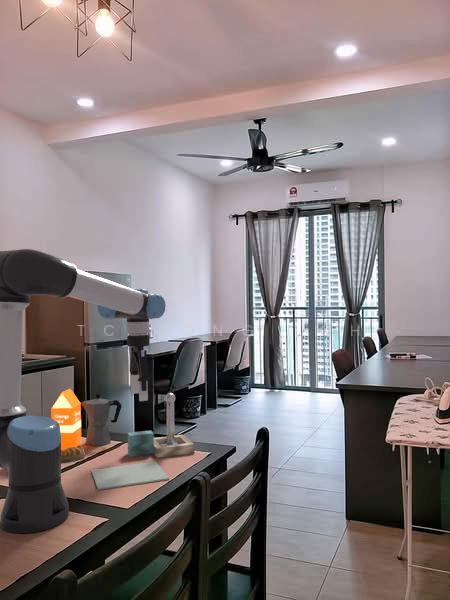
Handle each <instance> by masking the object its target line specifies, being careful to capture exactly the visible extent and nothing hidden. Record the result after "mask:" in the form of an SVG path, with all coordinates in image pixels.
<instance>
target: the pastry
mask: <svg viewBox="0 0 450 600" xmlns="http://www.w3.org/2000/svg"><path fill="white" fill-rule="evenodd" d="M85 456H86V453H85V450H84V447H83V446H82V445H80V444H79V445H78V446H77V447H69V448H67V449H65V450H61V463H63V462H72V461H76V460H82V459H84V458H85Z"/></svg>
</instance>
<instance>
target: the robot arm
mask: <svg viewBox="0 0 450 600" xmlns="http://www.w3.org/2000/svg"><path fill="white" fill-rule="evenodd" d="M31 296H46V297H47V296H48V297H53V298H57V299H65V298H67V297H69V298H73V299H76V300H79V301H83V302H86V303H90V304H93V305H97V306H96V307H97V312H98V314H99V316H100V317H101V318H103V319H106V320H107V319H109V320H114V319H126V334H128V335H127V336H126V346H127V347H129V348H130V364H129V372H130V381H131V382H130V384H131V385H130V388H131V389H130V391H131V393H130V394H132V395H133V394H138V401H139V402H145V401H148V400H149V394H148V393H149V392H148V391H149V388H148V387H149V386H148V385H149V384H148V381H149V380H150V375H149V374H150V373H149V366H148V356H147V354H148V353H147V349H145V348H144V347H148V346H150V345H151V344H150V343H151V342H150V339H151V338H150V334H149V333H150V327H151V323H150V320H155V319H160V318H162V316H163V315H164V314H165V312H166V307H167V306H166V301H165V298H164V297H163V296H162V295H161V294H158V293H157V294H156V293H149V290H148V289H146V288H131V287H128V286H125V285H123V284H120V283H117V282H115V281H111V280H110V279H106V278H103V277H100V276H98V275H96V274H92V273H89V272H87V271H84V270H81V269H79V268H77V266H76V265H75V264H74V263H73V262H70V261H67V260H65V259H63V258H60V257H57V256H54V255H52V254H49V253H46V252H42V251H40V250H35V249H30V248H23V249H13V250H11V249H10V250H0V469H3V470H7V471H8V472H7V473H8V474H7V475H8V480H7V481H8V491H7V494H6V497H5V499H4V502H3V506H2V509H1V512H0V527H1V529H2V530H4V531H5V532H7V533H8V532H9V533H14V534H31V533H32V534H33V533H37V532H42V531H45V530H49V529H52V528H54V527H57V526H58V525H60V524H62V523H64V522H65V521H66V520H67V519H68V518H69V515H70V506H69V502H68V501H69V500H68V498H67V496H66V493H65V490H64V487H63V484H62V462H61V451H62V450H61V439H62V438H61V432H60V425H59V423H58V422H57V421H56V420H54V419H52V418H51V417H48V416H45V415H40V416H37V415H27V409H26V407H25V406H23V405H22V403H21V393H22V392H21V391H22V390H21V388H22V386H21V385H22V364H23V363H22V361H23V360H22V358H23V357H22V356H23V354H22V353H23V329H24V328H23V327H24V325H23V324H24V322H23V321H24V311H25V310H26V309H27V308H28V307H29V306H30V304H31V303H30V300H31Z"/></svg>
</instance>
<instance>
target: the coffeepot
mask: <svg viewBox="0 0 450 600" xmlns="http://www.w3.org/2000/svg"><path fill="white" fill-rule="evenodd" d="M100 397H101V393H96V394H95V398H94V399H90V400H84V401H81V402H80V403H81V407H83V409H84V410H85V412H86V415H87V422H88V425H87V426H88V427H87V431H86V438H85V444H86V446H91V447H100V446H106V445H108V444H110V443H111V437H110V431H109V430H110V429H109V424H108V420H109V414H110V409H111V406H116V408H115V413H114V417H113V419H110V422H111V424H112V423H115V424H116V423H117V422H118V419H119V415H120V413H121V410H122V406H123V405H122V403H121V401H119V400H117V399H106V398H100Z"/></svg>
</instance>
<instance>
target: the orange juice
mask: <svg viewBox="0 0 450 600" xmlns="http://www.w3.org/2000/svg"><path fill="white" fill-rule="evenodd" d="M81 407H82V404H81V402H80V401H79V399H78V397H77V395H75V393H74V392H73V391H72V389H71V388H68V389H66V390H64V391H62V392H61V393H60V395H59V396H58V398H57V400H56V401H55V403H54V404H53V406H52V407H51V408H50V409H51V410H50V411H51V413H50V414H51V417H50V418H52V419H54V420H56V421H57V422H58V423H59V425H60V432H61V438H62V439H61V451H63V450H65V449H67V448H69V447H77V446H80V444H82V414H81V411H82V408H81Z"/></svg>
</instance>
